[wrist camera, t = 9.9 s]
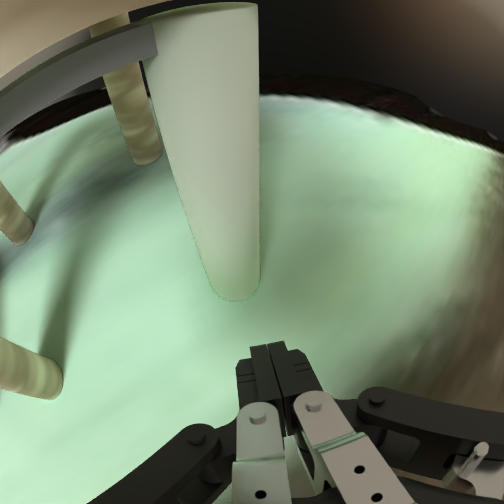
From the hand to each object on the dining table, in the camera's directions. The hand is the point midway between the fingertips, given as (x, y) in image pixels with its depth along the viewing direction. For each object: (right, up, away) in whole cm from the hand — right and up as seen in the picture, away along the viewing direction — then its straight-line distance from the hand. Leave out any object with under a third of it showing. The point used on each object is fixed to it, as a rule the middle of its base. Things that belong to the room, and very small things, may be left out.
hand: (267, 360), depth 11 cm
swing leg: (-6, +1, +7) cm, 10 cm away
